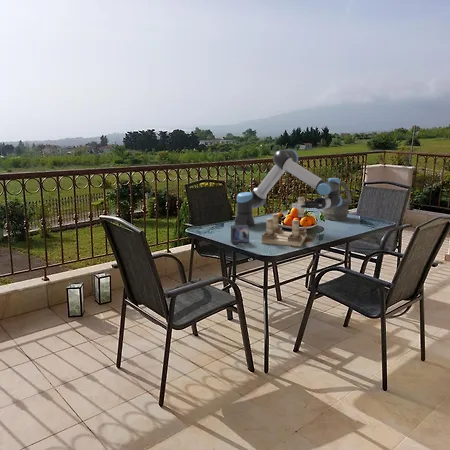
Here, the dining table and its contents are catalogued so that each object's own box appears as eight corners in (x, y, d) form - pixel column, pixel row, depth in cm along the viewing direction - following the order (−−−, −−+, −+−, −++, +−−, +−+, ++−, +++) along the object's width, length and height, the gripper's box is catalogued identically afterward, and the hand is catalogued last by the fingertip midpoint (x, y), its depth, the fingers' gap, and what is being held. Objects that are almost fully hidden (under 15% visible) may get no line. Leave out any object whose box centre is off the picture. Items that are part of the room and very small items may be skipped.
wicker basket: (338, 222, 304) (340, 182, 297) (314, 217, 322) (316, 180, 316) (356, 218, 317) (358, 180, 310) (332, 214, 335) (334, 178, 328)
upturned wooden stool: (270, 234, 269) (270, 212, 266) (306, 236, 261) (307, 215, 258) (261, 242, 247) (261, 219, 244) (300, 246, 239) (301, 222, 236)
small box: (232, 244, 244) (232, 227, 242) (230, 241, 250) (230, 225, 248) (249, 243, 246) (249, 226, 244) (246, 240, 252) (246, 224, 250)
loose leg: (298, 215, 258) (298, 197, 255) (304, 215, 257) (305, 197, 254) (297, 216, 254) (297, 197, 252) (303, 217, 253) (304, 198, 250)
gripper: (331, 210, 256) (303, 214, 245) (312, 206, 271) (285, 210, 259) (331, 198, 255) (303, 202, 243) (313, 195, 269) (285, 198, 258)
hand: (294, 206), depth 251 cm, fingers closed on loose leg, 4 cm apart
